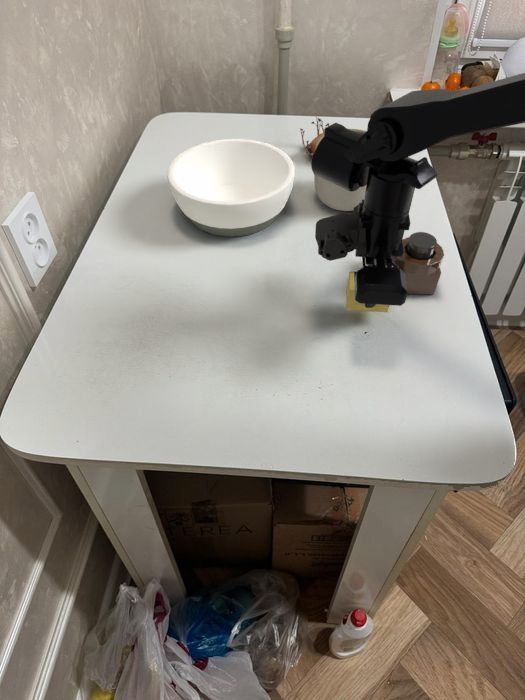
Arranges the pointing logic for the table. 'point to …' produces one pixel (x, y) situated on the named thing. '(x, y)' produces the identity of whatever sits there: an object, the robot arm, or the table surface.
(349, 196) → the planter
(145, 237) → the table surface
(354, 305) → the yellow block
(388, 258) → the robot arm
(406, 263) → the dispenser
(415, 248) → the dark grey short cylinder
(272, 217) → the bowl
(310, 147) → the vegetable
